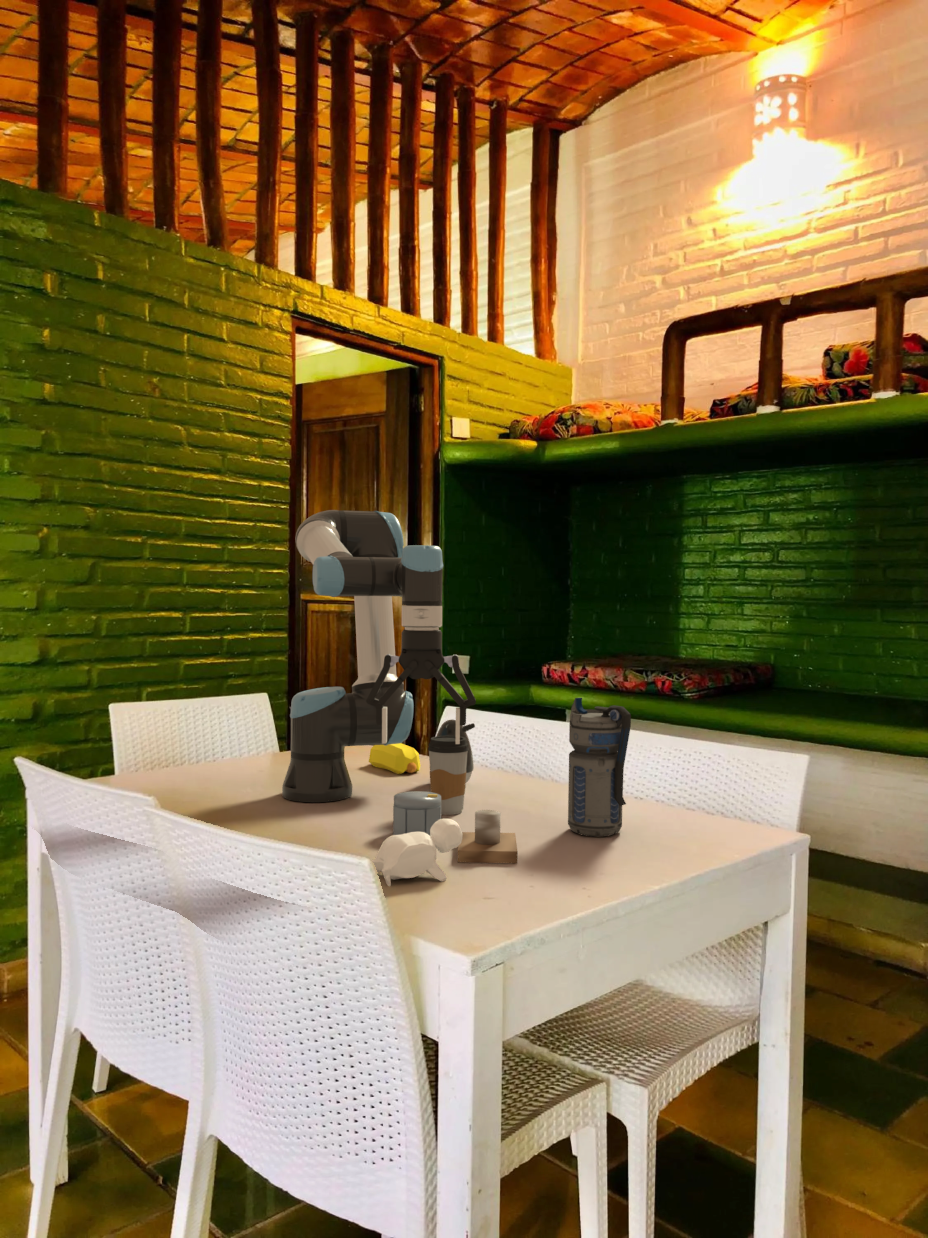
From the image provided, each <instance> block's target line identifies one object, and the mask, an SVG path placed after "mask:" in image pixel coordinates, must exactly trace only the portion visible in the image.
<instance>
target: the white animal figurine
mask: <svg viewBox="0 0 928 1238" xmlns="http://www.w3.org/2000/svg"><path fill="white" fill-rule="evenodd" d="M462 832H463V831H462V828H461V826H460V825H459V823H458V822H457V821H456V820H455V819H454V820H453V819H451V818H441V819H440V820H438V821H436V822H435V823H434V824H433V825H432V827H431V829H430V835H428V834H427V833H425V832H410V833H406V834H401V835H393V834H392V835H389V836H388V837H386V839H384V840H383V842H382V843H381V845H380V847H379V850H378V852H377V853H376V855H375V856H374V857H375V858H374V859H371V860H372V862H373V863H374V865H375V867H376V870H377V872H378V873H382V875H383V878H384V880H385V884H386V886H388V887H391V886H392V883H391V881H392V880H393V881H395V880H403V879H410V878H411V879H412V878H415V877H418V876H420V875H422V874H423V873H425V872H426V873H428V874H429V875H430V876H432V877H433V878H435V879H437V880H438V881H439V882H445V881H446V880H447V879H448V878H447V877H448V876H447V875H446V873H445V871H444V870H443V869H442V868H441V867H440V865H439V864H438V862H437V861H436V859H437V851H438V852H439V853H441V854H443V853H448V852H450V851H451V850H454V849H457V848H458V846H459V845H460V844H461V842H462V836H463V834H462Z"/></svg>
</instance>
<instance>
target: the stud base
mask: <svg viewBox="0 0 928 1238" xmlns="http://www.w3.org/2000/svg"><path fill="white" fill-rule="evenodd" d="M462 834H463V836H462V842H461V844H460V845H459V846H458V847H457V863H464V864H465V863H467V864H468V863H474V864H477V863H478V864H487V863H488V864H518V843H517V836H516V832H501V812H500V811H499V810H494V809H481V810H477V811H475V812H474V831H462Z"/></svg>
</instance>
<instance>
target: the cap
mask: <svg viewBox="0 0 928 1238" xmlns="http://www.w3.org/2000/svg"><path fill="white" fill-rule="evenodd" d="M392 807H393V808H392V809H393V810H392V812H393V815H392V816H393V818H392V824H393V825H392V828H393V829H392V831H393V832H392V835H401V834H406V833H410V832H425V833H427V834H428V835H430V829H431V827H432V825H433V824H434V823H435V822H436V821H438V820H440V819H442V814H441V795H439V794H437V793H432V792H431V791H421V790H418V791H414V790H413V791H404V792H399V793H396V794H394V795H393V806H392Z"/></svg>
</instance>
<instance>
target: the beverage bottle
mask: <svg viewBox="0 0 928 1238" xmlns="http://www.w3.org/2000/svg"><path fill="white" fill-rule="evenodd" d="M570 708H571V709H570V715H569V729H568V730H569V733H568V735H569V740H568V741H569V744H570V745H571V747H572V748H573V750H571V751H570V752H569V753H568V793H567V794H568V795H567V796H568V797H567V798H568V800H567V801H568V802H567V807H568V809H567V825H568V827H569V829H570V830H571V831H572V832H573V833H576V834H579V835H581V834H582V835H581V836H585V835H587V837H592V836H604V837H609V836H608V835H610V836H612V834H613V835H616V834H618V833H619V832H620V830H621V829H622V826H623V806H624V805H625V806H626V805H627V803H626V800H625V799H624V795H623V794H624V769H625V761H626V756H627V749H628V744H629V739H630V733H631V724H632V715H631V714H632V713H630V712H629V711H628V710H627V709H626V708H625V706H620V705H610V706H609V707H607V706H605V707H604V706H594V709H584V707H583V697H574V701H573V703H572V704H571V707H570Z"/></svg>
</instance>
